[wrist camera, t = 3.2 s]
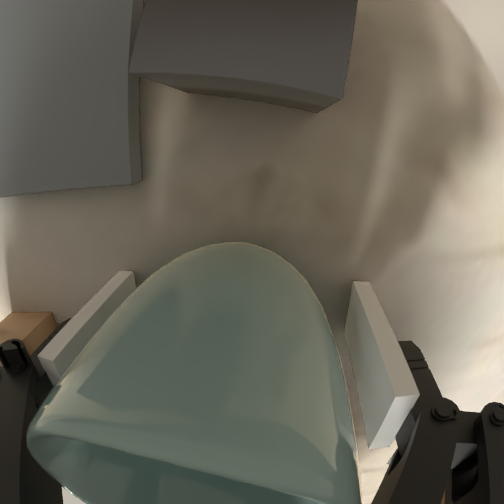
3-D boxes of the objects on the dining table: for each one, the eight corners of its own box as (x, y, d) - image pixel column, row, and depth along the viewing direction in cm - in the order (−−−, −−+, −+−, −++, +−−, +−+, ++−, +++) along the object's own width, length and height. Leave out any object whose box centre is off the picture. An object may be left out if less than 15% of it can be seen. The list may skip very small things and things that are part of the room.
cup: (279, 184, 11) (263, 401, 2) (348, 334, 14) (387, 536, 5) (128, 262, 13) (-16, 420, 4) (211, 378, 16) (165, 544, 7)
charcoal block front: (317, 113, 10) (341, 98, 6) (188, 93, 10) (128, 72, 6) (335, 3, 8) (363, -60, 4) (212, -13, 9) (174, -76, 4)
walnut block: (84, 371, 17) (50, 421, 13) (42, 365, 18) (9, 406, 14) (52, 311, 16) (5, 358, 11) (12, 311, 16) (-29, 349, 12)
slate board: (142, 180, 12) (131, 184, 11) (-32, 200, 13) (-42, 204, 12) (159, -89, 6) (152, -99, 5) (-23, 7, 8) (-32, 5, 7)
